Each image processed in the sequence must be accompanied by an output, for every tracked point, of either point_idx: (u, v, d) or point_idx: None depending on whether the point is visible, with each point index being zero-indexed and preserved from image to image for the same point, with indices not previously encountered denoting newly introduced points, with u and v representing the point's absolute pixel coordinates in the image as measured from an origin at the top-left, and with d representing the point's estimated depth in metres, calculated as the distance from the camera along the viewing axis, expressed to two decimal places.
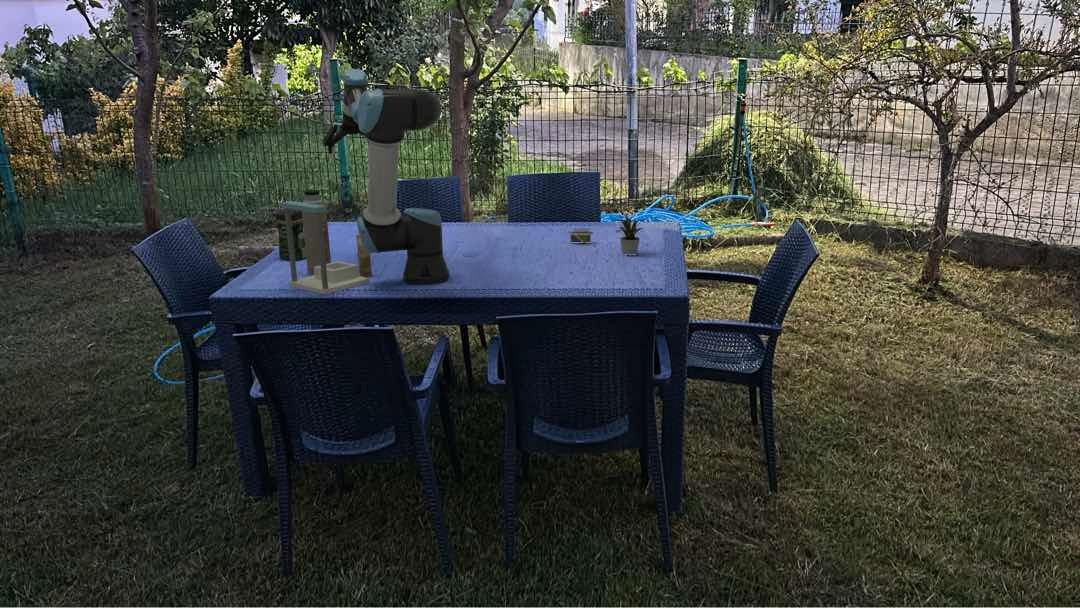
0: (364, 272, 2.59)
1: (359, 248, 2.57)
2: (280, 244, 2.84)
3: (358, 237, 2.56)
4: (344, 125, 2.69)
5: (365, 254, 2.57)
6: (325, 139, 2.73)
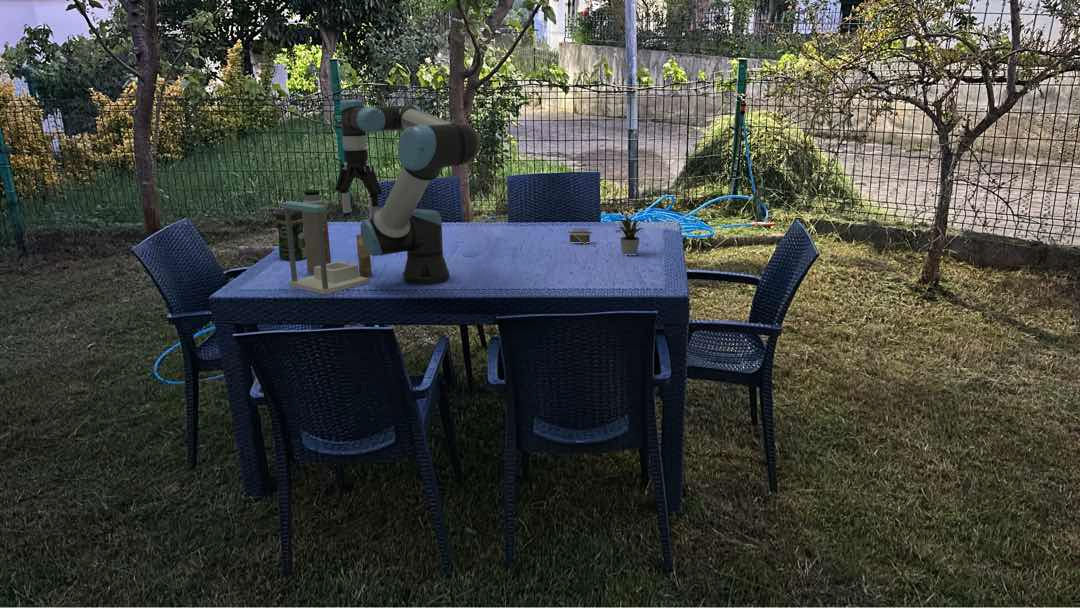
0: (364, 272, 2.59)
1: (359, 248, 2.57)
2: (280, 244, 2.84)
3: (358, 237, 2.56)
4: (347, 164, 2.53)
5: (365, 254, 2.57)
6: None
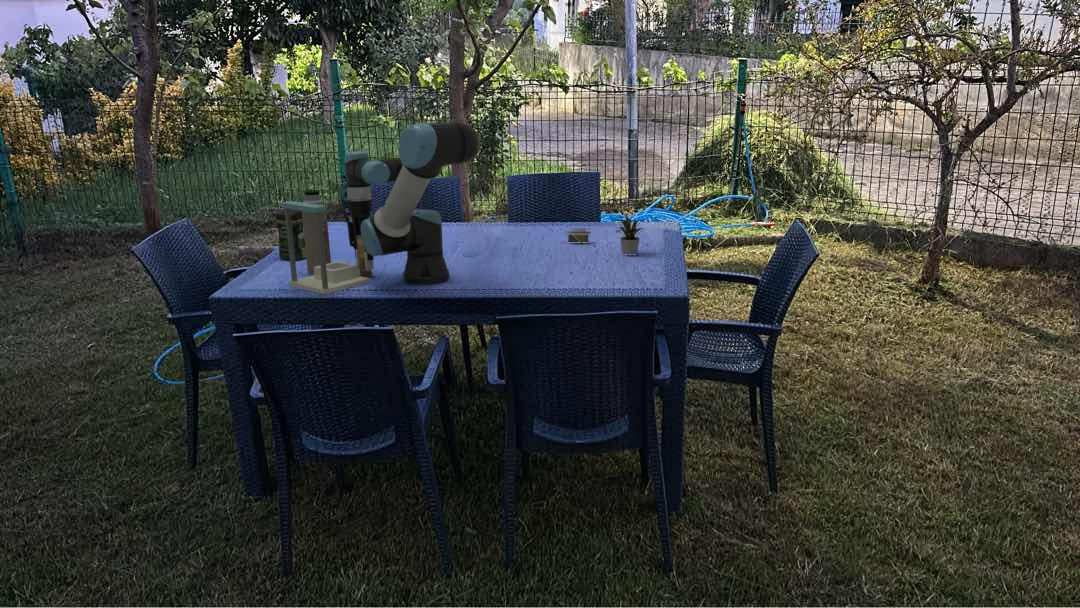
0: (364, 272, 2.59)
1: (359, 248, 2.57)
2: (280, 244, 2.84)
3: (358, 237, 2.56)
4: (351, 214, 2.57)
5: None
6: None
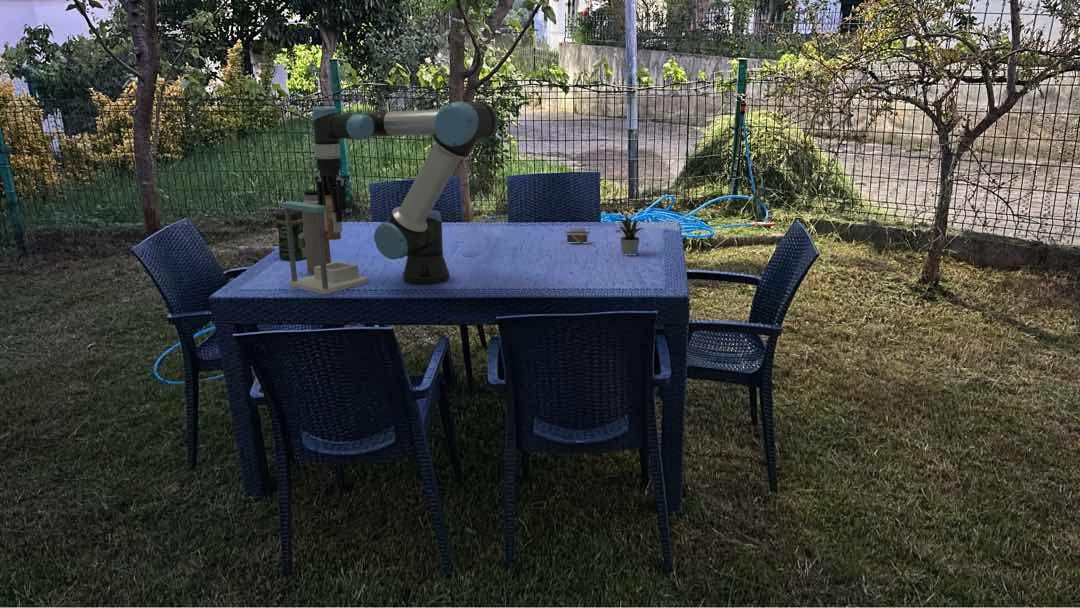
0: (332, 234, 2.48)
1: (327, 209, 2.46)
2: (280, 244, 2.84)
3: (326, 197, 2.45)
4: (320, 173, 2.46)
5: None
6: None
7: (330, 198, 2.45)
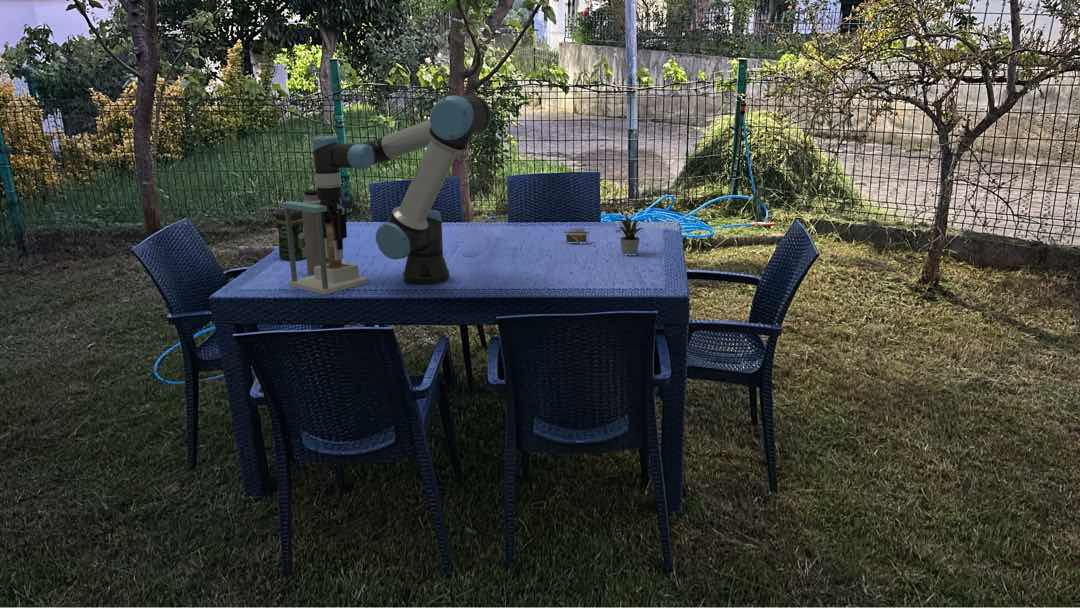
0: (333, 262, 2.50)
1: (328, 237, 2.48)
2: (280, 244, 2.84)
3: (327, 225, 2.47)
4: (320, 202, 2.48)
5: None
6: None
7: (331, 226, 2.47)
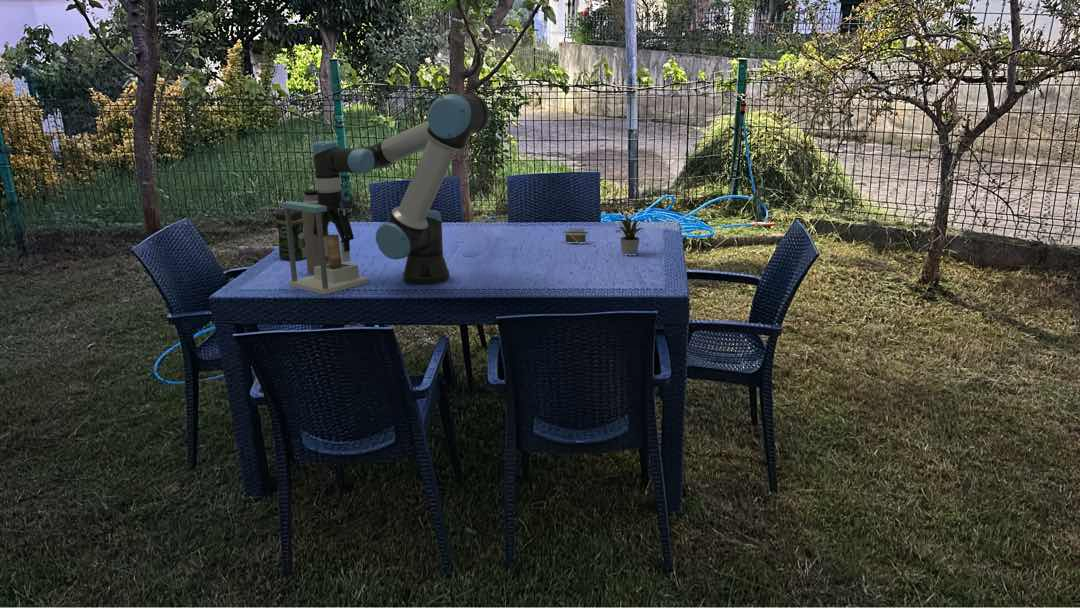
0: None
1: (329, 249, 2.49)
2: (280, 244, 2.84)
3: (327, 238, 2.48)
4: None
5: (335, 255, 2.49)
6: None
7: (331, 238, 2.48)
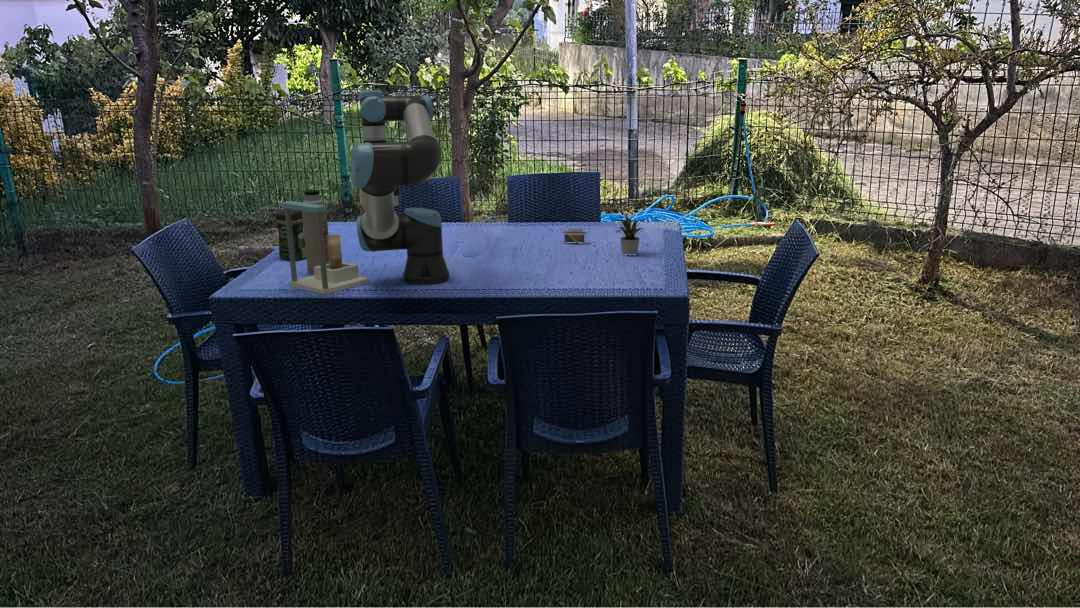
0: None
1: (330, 249, 2.49)
2: (280, 244, 2.84)
3: (329, 238, 2.48)
4: None
5: (336, 255, 2.49)
6: None
7: (332, 239, 2.48)
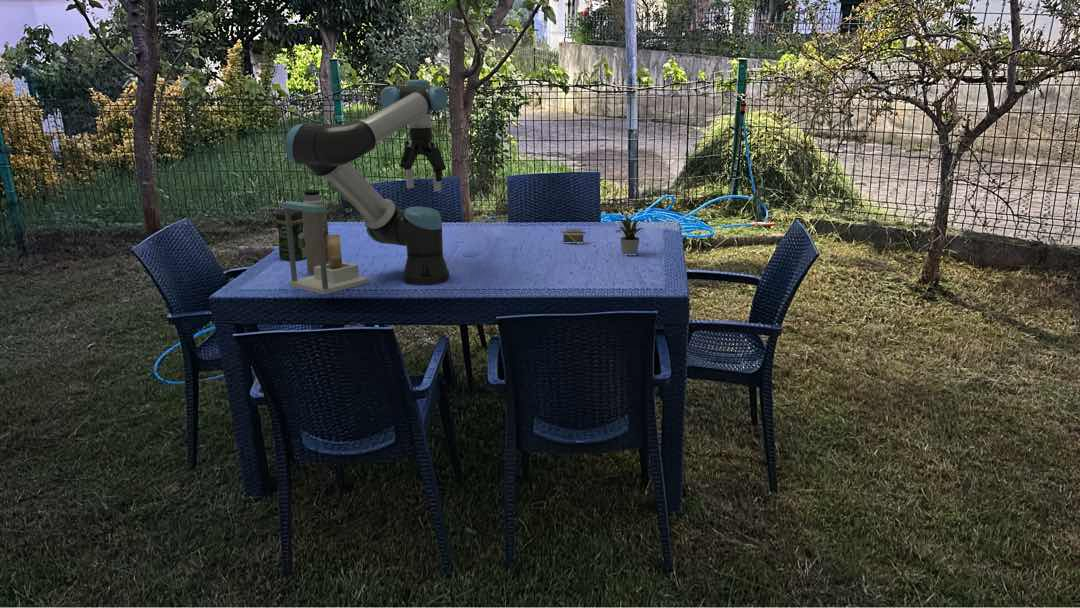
0: None
1: (330, 249, 2.49)
2: (280, 244, 2.84)
3: (328, 238, 2.48)
4: (412, 141, 2.65)
5: (336, 255, 2.49)
6: None
7: (332, 239, 2.48)
